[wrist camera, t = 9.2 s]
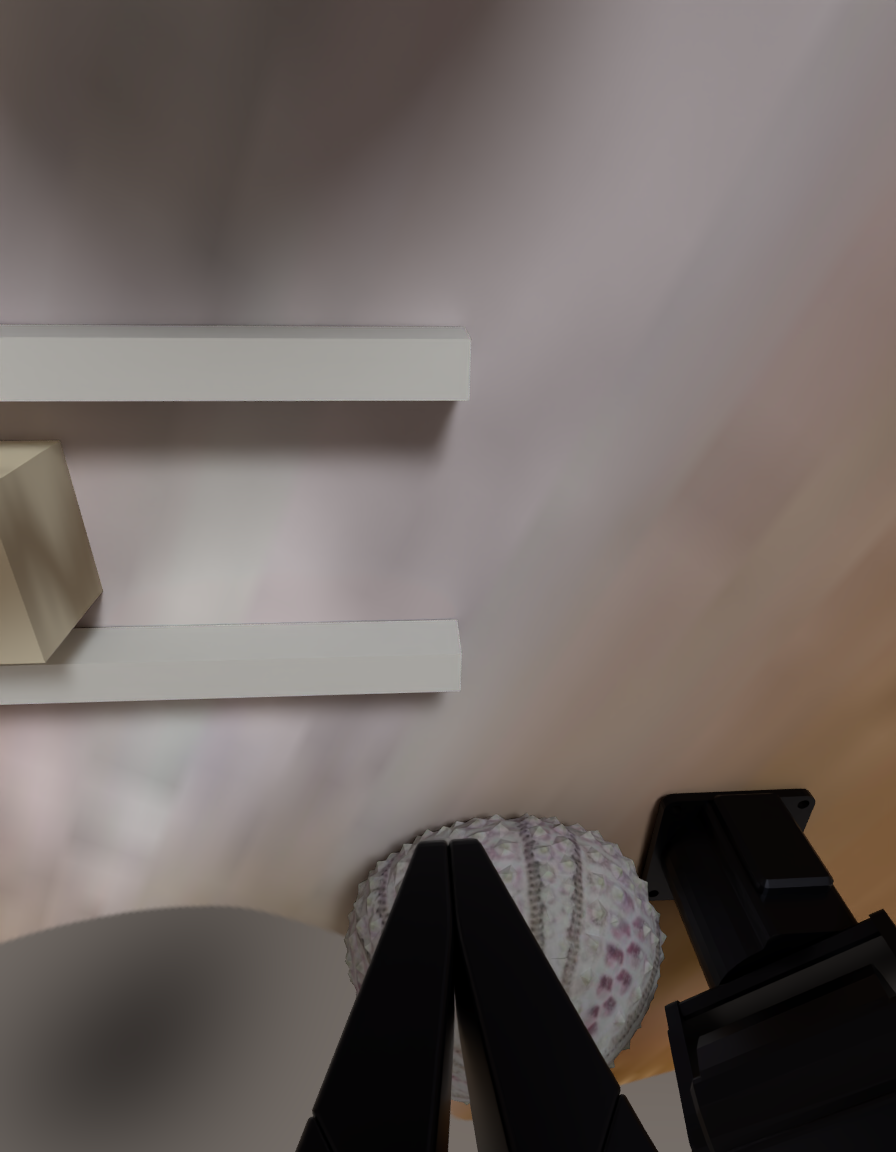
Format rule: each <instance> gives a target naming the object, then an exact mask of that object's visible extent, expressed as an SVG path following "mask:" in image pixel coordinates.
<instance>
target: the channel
mask: <svg viewBox="0 0 896 1152" xmlns="http://www.w3.org/2000/svg"><path fill="white" fill-rule="evenodd" d="M470 360H471V338H470V336H469V335H468V333H467V331H466V329H465V327H373V326H186V325H0V401H469V394H470ZM461 662H462V652H461V645H460V638H459V630H458V623H457V620H421V621H376V622H332V623H288V624H244V625H200V626H155V627H111V628H73V629H72V630H71V631H70V633H69V634H68V635H67V636H66V638H65V639H64V640H63V641H62V643H61V644H60V645H59V646H58V648H57V649H56V650H55V651H54V653H53V654H52V655H51V656H50V658H49V659H48V660H47V661H46V663H24V664H0V705H10V704H43V703H77V702H111V701H145V700H179V699H213V698H247V697H281V696H315V695H349V694H383V693H417V692H451V691H461Z"/></svg>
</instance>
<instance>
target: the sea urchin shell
mask: <svg viewBox="0 0 896 1152" xmlns="http://www.w3.org/2000/svg"><path fill="white" fill-rule="evenodd" d="M463 838H476V839H478V840H479V841H480V843H481V844H482V846H483V847H484V849H485V851H486V853H487V854H488V856H489V858H490V860H491V861H492V863H493V865H494V867H495V868H496V870H497V872H498V874H499V875H500V877H501V879H502V881H503V882H504V884H505V886H506V888H507V889H508V891H509V893H510V895H511V896H512V898H513V900H514V902H515V903H516V905H517V907H518V909H519V910H520V912H521V914H522V916H523V917H524V919H525V921H526V923H527V924H528V926H529V928H530V930H531V931H532V933H533V935H534V937H535V938H536V940H537V942H538V944H539V945H540V947H541V949H542V951H543V952H544V954H545V956H546V958H547V960H548V961H549V963H550V965H551V967H552V968H553V970H554V972H555V974H556V975H557V977H558V979H559V981H560V982H561V984H562V986H563V988H564V989H565V991H566V993H567V995H568V996H569V998H570V1000H571V1002H572V1003H573V1005H574V1007H575V1009H576V1010H577V1012H578V1014H579V1016H580V1017H581V1019H582V1021H583V1023H584V1024H585V1026H586V1028H587V1030H588V1031H589V1033H590V1035H591V1037H592V1038H593V1040H594V1042H595V1044H596V1045H597V1047H598V1049H599V1051H600V1052H601V1054H602V1056H603V1058H604V1059H605V1061H606V1063H607V1065H608V1066H609V1068H614V1067H615V1066H614V1059H615V1058H616V1057H617V1056H618V1054H619V1053H620V1052H621V1051H622V1050H626V1049H630V1040H631V1038H632V1037H633V1035H634V1034H635V1032H636V1030H637V1029H639V1028H641V1022H642V1020H643V1018H644V1016H645V1014H646V1012H647V1011H648V1009H649V1006H650V1002H651V1001H652V1000H653V998H654V993H655V991H656V989H657V987H658V985H657V980H658V979H659V978H660V964H661V962H662V961H663V960H664V959H665V958H664V954H663V951H662V947H661V945H662V944H663V943H664V941H665V939H666V937H667V936H666V935H665V934H664V933H663V932H662V931H661V929H660V926H659V919H660V913H658V912H657V911H656V910H655V908H654V907H653V906H652V905H651V904H650V903H649V900H648V888H647V886H648V882H646V881H644V880H641V879H640V878H639V877H638V875H637V873H636V869H635V865H634V862H633V860H631V859H629V858H626V857H624V856H623V855H622V853H621V851H620V849H619V847H618V845H617V844H614V843H611V842H607V841H604V839H603V838H602V836H601V834H600V833H599V831H598V830H597V831H586V830H585V829H584V828H583V827H582V826H581V825H579V824H574V825H571V826H564V825H563V824H561V823H560V822H559V821H558V820H557V818H556V817H555V816H554V817H551V818H546V817H543V818H540V819H538V818H536V817H535V816H533V815H532V816H529V815H528V814H527V813H526V814H524V815H523V816H521V817H520V818H516V819H509V820H504V819H503V818H502V817H500V816H499V815H497V814H496V815H494V816H493V817H492V816H490V817H487V818H485V819H480V818H473V819H471V820H469V821H468V822H466V823H464V822H458V821H456V822H455V823H454V824H453V825H452V826H451V827H450V828H448V827H444V826H443V827H442V828H441V829H440V830H439V831H436V832H432V831H430V830H428V829H427V830H426V831H425V833H424V834H423V835H422V836H417V837H416V839H415V841H414V842H413V844H403V847H402V849H401V851H400V852H399V853H391V854H390V855H389V856H388V858H387V859H386V861H379V862H377V865H376V868H375V870H372V871H370V872H369V876H368V879H367V880H365V881H364V882H362V883H360V884H358V896H357V899H356V902H355V903H354V904H353V905H354V909H353V911H352V912H351V913H349V914H348V919H349V929H348V931H347V934H346V937H345V939H344V942H345V944H346V947H347V954H346V960H345V962H346V964H347V965H348V966H349V968H350V970H349V973H348V975H349V977H350V978H351V979H350V981H351V982H352V984H353V985H354V986H355V988H356V991H357V994H356V997H357V995H358V992H359V989H360V987H361V984H362V982H363V979H364V977H365V974H366V972H367V969H368V967H369V964H370V961H371V959H372V956H373V954H374V951H375V949H376V946H377V944H378V941H379V939H380V936H381V933H382V931H383V928H384V926H385V923H386V921H387V918H388V916H389V913H390V911H391V908H392V905H393V903H394V900H395V898H396V895H397V893H398V890H399V888H400V885H401V883H402V880H403V877H404V875H405V872H406V870H407V867H408V865H409V862H410V860H411V857H412V854H413V852H414V849H415V847H416V845H417V844H418V843H419V842H420V841H426V840H445V841H446V842H447V843H448V844H449V842H450V841H451V840H452V839H463ZM451 1099H452V1100H454V1101H459V1102H464V1103H465V1104H466V1105H467V1104H469V1103H470V1099H469V1093H468V1087H467V1081H466V1075H465V1068H464V1062H463V1056H462V1050H461V1044H460V1038H459V1031H458V1023H457V1016H456V1005H455V1025H454V1049H453V1068H452V1086H451Z"/></svg>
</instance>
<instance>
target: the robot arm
mask: <svg viewBox="0 0 896 1152" xmlns="http://www.w3.org/2000/svg"><path fill="white" fill-rule="evenodd" d="M814 805H815V799H814V798H813V796H812V795H811V793H810V792H809V791H808V790H806V789H781V790H756V791H731V792H706V793H681V794H670V795H668V796H666V797H664V798H663V799H662V801H661V803H660V807H659V811H658V815H657V819H656V823H655V827H654V831H653V835H652V839H651V843H650V847H649V851H648V855H647V859H646V863H645V867H644V871H643V875H642V879H641V880H644V881H646V882H648V886H647V888H648V900H649V901H655V900H674V901H675V903H676V906H677V908H678V911H679V913H680V916H681V918H682V921H683V923H684V926H685V928H686V931H687V933H688V936H689V938H690V941H691V943H692V946H693V948H694V951H695V953H696V956H697V958H698V961H699V963H700V966H701V968H702V971H703V973H704V976H705V978H706V981H707V983H708V986H709V988H710V989H709V990H707V991H705V992H702V993H700V994H698V995H696V996H693V997H691V998H689V999H687V1000H684V1001H682V1002H679V1001H678V1000H677V1001H675V1002H673V1003H670V1004H668V1005H666V1006H665V1012H666V1017H667V1022H668V1027H669V1030H668V1037H669V1042H670V1047H671V1052H672V1057H673V1062H674V1067H675V1072H676V1077H677V1082H678V1088H679V1093H680V1098H681V1103H682V1108H683V1113H684V1118H685V1123H686V1129H687V1134H688V1138H689V1143H690V1146H691V1149H692V1152H896V926H895V924H894V923H893V921H892V920H891V919H890V917H889V916H888V915H887V913H886V912H885V910H884V909H881V910H879V911H876V912H874V913H872V914H870V915H869V916H870V918H869V919H866V920H864V921H862V922H860V923H858V922H857V921H856V919H855V918H854V916H853V914H852V913H851V911H850V910H849V908H848V907H847V905H846V904H845V902H844V901H843V899H842V897H841V896H840V894H839V893H838V891H837V890H836V888H835V887H834V885H833V882H834V881H833V878H832V876H831V875H830V873H829V871H828V870H827V868H826V867H825V865H824V864H823V862H822V861H821V859H820V858H819V856H818V855H817V853H816V852H815V850H814V848H813V847H812V845H811V844H810V842H809V841H808V839H807V838H806V836H805V835H804V833H803V832H804V829H805V827H806V824H807V822H808V819H809V817H810V815H811V812H812V810H813V807H814ZM455 1005H456V1016H457V1023H458V1031H459V1038H460V1044H461V1050H462V1056H463V1062H464V1068H465V1075H466V1081H467V1087H468V1093H469V1099H470V1105H471V1112H472V1118H473V1124H474V1130H475V1136H476V1142H477V1148H478V1152H658V1151H657V1149H656V1147H655V1146H654V1144H653V1142H652V1141H651V1139H650V1137H649V1136H648V1134H647V1132H646V1131H645V1129H644V1127H643V1125H642V1124H641V1122H640V1120H639V1118H638V1117H637V1115H636V1113H635V1111H634V1110H633V1108H632V1106H631V1104H630V1103H629V1101H628V1099H627V1097H626V1096H625V1095H624V1094H621V1095H619V1094H620V1086H619V1084H618V1082H617V1080H616V1079H615V1077H614V1075H613V1073H612V1072H611V1070H610V1068H609V1066H608V1065H607V1063H606V1061H605V1059H604V1058H603V1056H602V1054H601V1052H600V1051H599V1049H598V1047H597V1045H596V1044H595V1042H594V1040H593V1038H592V1037H591V1035H590V1033H589V1031H588V1030H587V1028H586V1026H585V1024H584V1023H583V1021H582V1019H581V1017H580V1016H579V1014H578V1012H577V1010H576V1009H575V1007H574V1005H573V1003H572V1002H571V1000H570V998H569V996H568V995H567V993H566V991H565V989H564V988H563V986H562V984H561V982H560V981H559V979H558V977H557V975H556V974H555V972H554V970H553V968H552V967H551V965H550V963H549V961H548V960H547V958H546V956H545V954H544V952H543V951H542V949H541V947H540V945H539V944H538V942H537V940H536V938H535V937H534V935H533V933H532V931H531V930H530V928H529V926H528V924H527V923H526V921H525V919H524V917H523V916H522V914H521V912H520V910H519V909H518V907H517V905H516V903H515V902H514V900H513V898H512V896H511V895H510V893H509V891H508V889H507V888H506V886H505V884H504V882H503V881H502V879H501V877H500V875H499V874H498V872H497V870H496V868H495V867H494V865H493V863H492V861H491V860H490V858H489V856H488V854H487V853H486V851H485V849H484V847H483V846H482V844H481V843H480V841H479V840H478V839H476V838H463V839H452V840H451V841H450V842H449V844H448V843H447V842H446V841H445V840H426V841H420V842H419V843H418V844H417V845H416V847H415V849H414V852H413V854H412V857H411V860H410V862H409V865H408V867H407V870H406V872H405V875H404V877H403V880H402V883H401V885H400V888H399V890H398V893H397V895H396V898H395V900H394V903H393V905H392V908H391V911H390V913H389V916H388V918H387V921H386V923H385V926H384V928H383V931H382V933H381V936H380V939H379V941H378V944H377V946H376V949H375V951H374V954H373V956H372V959H371V961H370V964H369V967H368V969H367V972H366V974H365V977H364V979H363V982H362V984H361V987H360V989H359V992H358V995H357V997H356V1000H355V1002H354V1005H353V1007H352V1010H351V1012H350V1015H349V1017H348V1020H347V1023H346V1025H345V1028H344V1030H343V1033H342V1035H341V1038H340V1040H339V1043H338V1046H337V1048H336V1051H335V1053H334V1056H333V1058H332V1061H331V1064H330V1066H329V1069H328V1071H327V1073H326V1076H325V1079H324V1081H323V1084H322V1086H321V1089H320V1091H319V1094H318V1097H317V1099H316V1102H315V1104H314V1107H313V1110H312V1112H313V1117H310V1118H309V1119H308V1121H307V1123H306V1126H305V1129H304V1131H303V1134H302V1136H301V1139H300V1141H299V1144H298V1147H297V1149H296V1151H295V1152H448V1143H449V1124H450V1105H451V1086H452V1068H453V1049H454V1025H455Z"/></svg>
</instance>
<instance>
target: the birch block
mask: <svg viewBox="0 0 896 1152" xmlns="http://www.w3.org/2000/svg"><path fill="white" fill-rule="evenodd" d="M102 592H103V589H102V586H101V582H100V579H99V575H98V572H97V568H96V565H95V561H94V558H93V554H92V551H91V547H90V544H89V540H88V537H87V533H86V530H85V526H84V523H83V519H82V516H81V512H80V509H79V505H78V502H77V499H76V495H75V492H74V488H73V485H72V481H71V478H70V474H69V471H68V467H67V464H66V460H65V457H64V453H63V450H62V446H61V443H60V440H20V441H0V664H24V663H46V661H47V660H48V659H49V658H50V656H51V655H52V654H53V653H54V651H55V650H56V649H57V648H58V646H59V645H60V644H61V643H62V641H63V640H64V639H65V638H66V636H67V635H68V634H69V633H70V631H71V630H72V629H73V628H74V626H75V625H76V624H77V623H78V621H79V620H80V619H81V618H82V617H83V615H84V614H85V613H86V612H87V610H88V609H89V608H90V607H91V605H92V604H93V603H94V602H95V600H96V599H97V598H98V597H99V595H100V594H101V593H102Z"/></svg>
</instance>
